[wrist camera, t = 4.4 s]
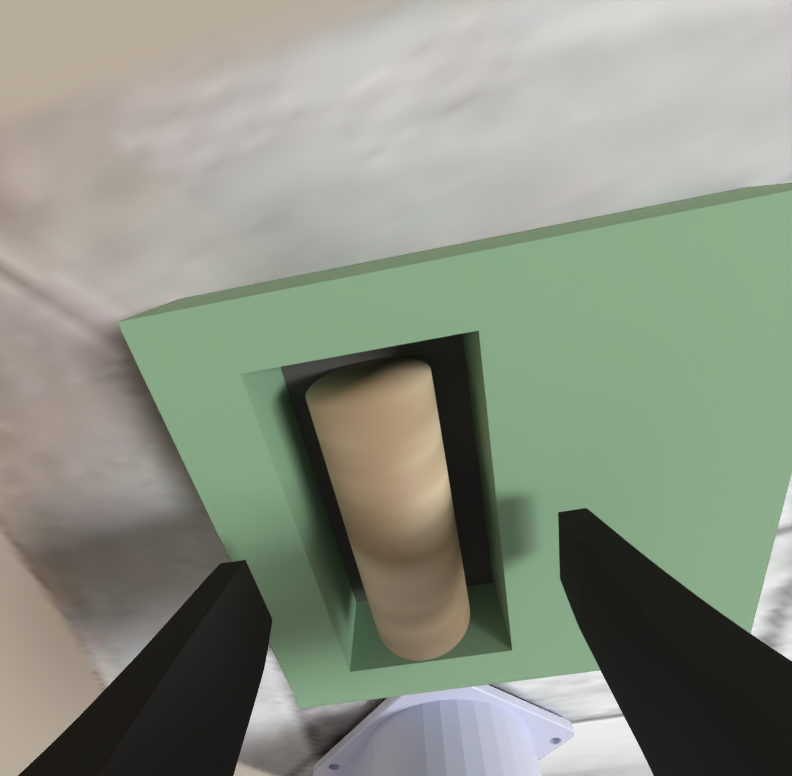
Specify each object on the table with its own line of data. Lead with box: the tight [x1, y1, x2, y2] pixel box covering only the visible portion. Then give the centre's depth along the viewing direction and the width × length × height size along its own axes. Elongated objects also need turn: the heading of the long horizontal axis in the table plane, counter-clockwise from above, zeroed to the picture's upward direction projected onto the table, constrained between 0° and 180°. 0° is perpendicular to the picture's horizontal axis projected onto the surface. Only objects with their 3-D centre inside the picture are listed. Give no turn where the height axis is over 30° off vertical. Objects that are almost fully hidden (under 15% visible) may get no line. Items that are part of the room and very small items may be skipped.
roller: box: [306, 357, 470, 661], centre depth 11 cm, size 8×3×3 cm
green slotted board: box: [117, 183, 792, 709], centre depth 11 cm, size 14×13×2 cm
